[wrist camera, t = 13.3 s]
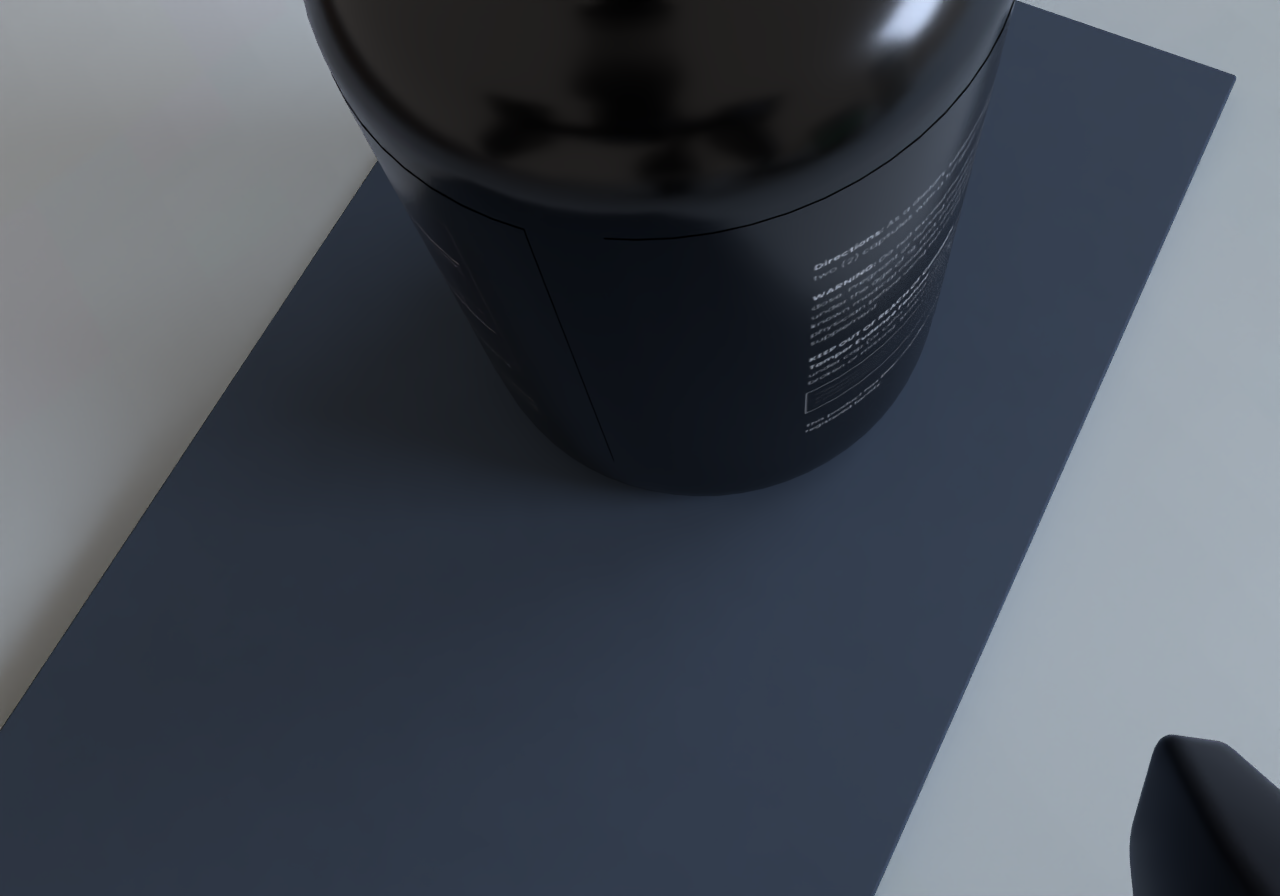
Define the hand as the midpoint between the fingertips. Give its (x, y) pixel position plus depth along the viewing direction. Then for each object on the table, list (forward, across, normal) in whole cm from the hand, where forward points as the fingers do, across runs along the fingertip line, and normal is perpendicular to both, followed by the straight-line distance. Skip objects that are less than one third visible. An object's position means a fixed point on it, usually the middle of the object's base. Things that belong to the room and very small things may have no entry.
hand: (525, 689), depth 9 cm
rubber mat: (+9, +1, +3) cm, 10 cm away
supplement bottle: (+11, 0, +1) cm, 11 cm away
